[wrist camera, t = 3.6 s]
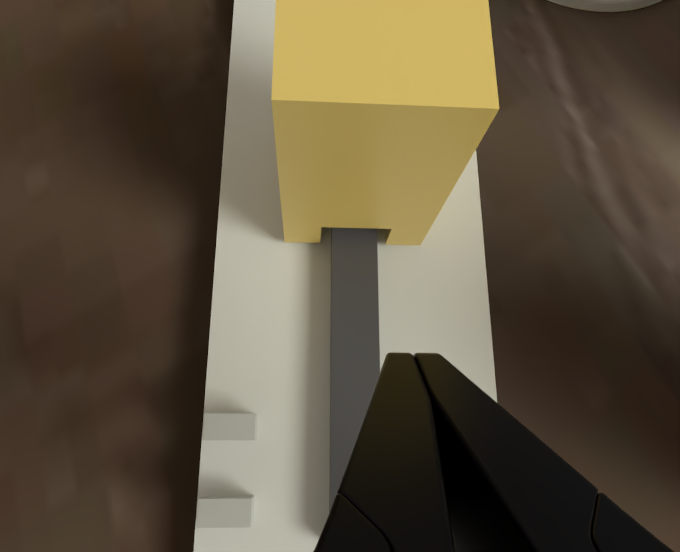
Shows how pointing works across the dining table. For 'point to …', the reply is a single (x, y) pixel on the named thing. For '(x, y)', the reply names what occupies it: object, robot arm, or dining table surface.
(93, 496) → the dining table surface
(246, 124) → the white slide rail base
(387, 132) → the yellow sliding block
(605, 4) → the candlestick
